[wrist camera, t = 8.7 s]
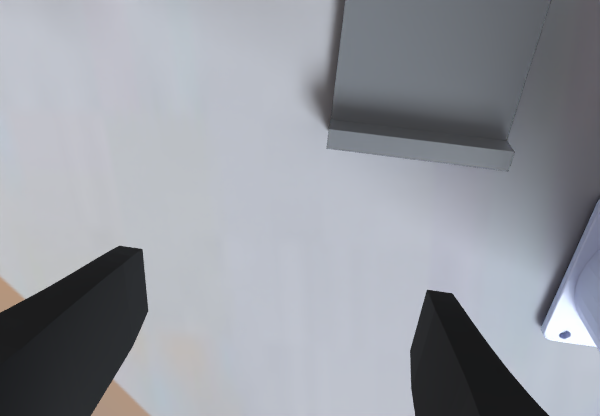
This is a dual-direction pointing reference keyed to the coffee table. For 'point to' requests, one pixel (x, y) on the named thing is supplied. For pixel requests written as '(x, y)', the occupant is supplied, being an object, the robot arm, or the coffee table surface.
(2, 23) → the coffee table surface
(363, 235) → the coffee table surface
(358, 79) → the tray
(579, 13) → the coffee table surface
